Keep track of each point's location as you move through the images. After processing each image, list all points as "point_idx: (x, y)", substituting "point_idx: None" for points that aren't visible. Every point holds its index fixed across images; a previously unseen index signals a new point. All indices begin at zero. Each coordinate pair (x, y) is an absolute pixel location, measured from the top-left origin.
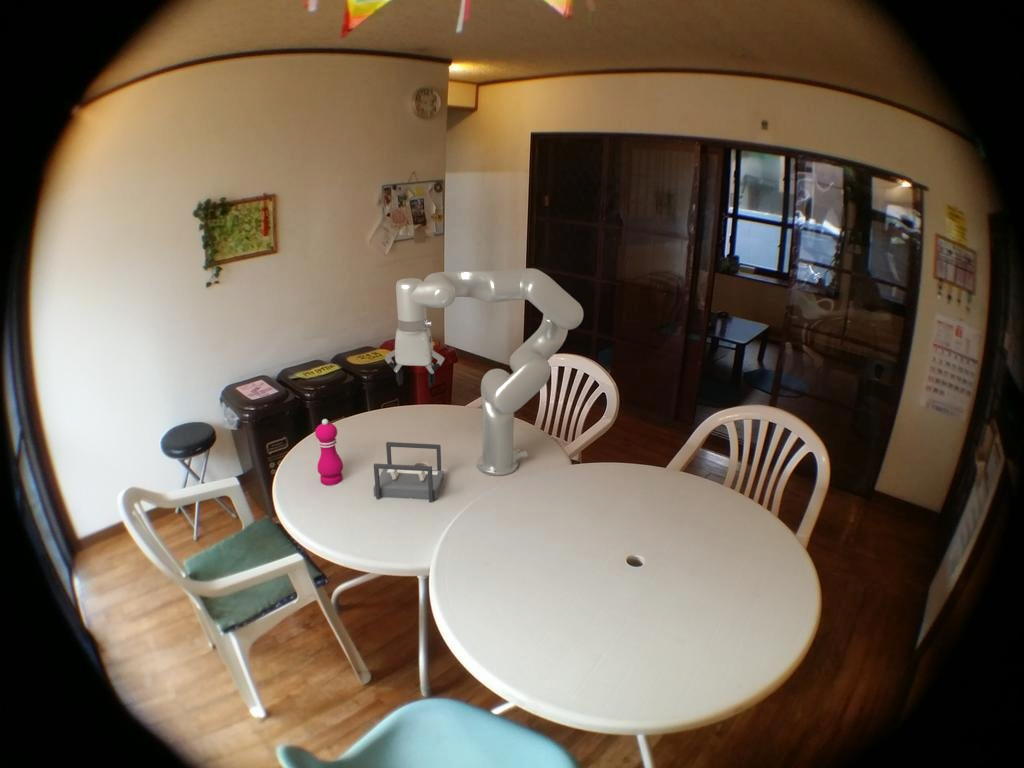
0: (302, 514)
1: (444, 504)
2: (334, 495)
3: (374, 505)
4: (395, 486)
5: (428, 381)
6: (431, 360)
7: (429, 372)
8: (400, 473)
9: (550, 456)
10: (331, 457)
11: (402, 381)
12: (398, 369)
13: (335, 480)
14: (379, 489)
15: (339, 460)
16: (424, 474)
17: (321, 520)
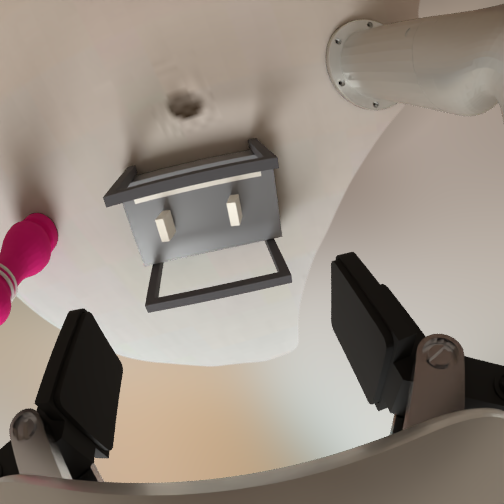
0: None
1: (295, 234)
2: (79, 273)
3: (165, 277)
4: (187, 249)
5: (348, 356)
6: (476, 415)
7: (388, 400)
8: (169, 197)
9: None
10: (27, 275)
11: (96, 334)
12: (97, 479)
13: (53, 248)
14: (161, 268)
15: (36, 252)
16: (238, 203)
17: (114, 330)
